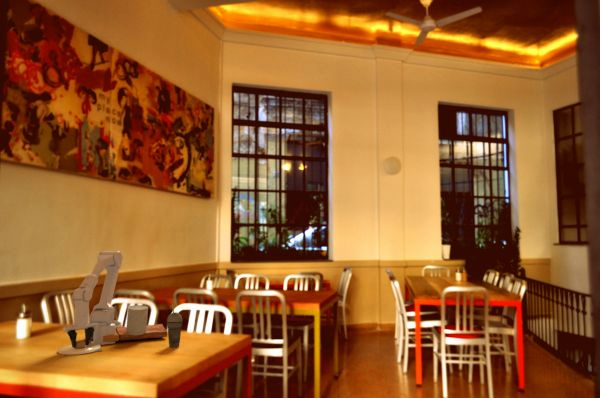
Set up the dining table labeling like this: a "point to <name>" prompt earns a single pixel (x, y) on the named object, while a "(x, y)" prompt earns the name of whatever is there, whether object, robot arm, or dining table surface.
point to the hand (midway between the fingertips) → (80, 346)
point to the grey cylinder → (137, 319)
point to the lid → (79, 348)
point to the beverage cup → (174, 329)
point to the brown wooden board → (151, 332)
